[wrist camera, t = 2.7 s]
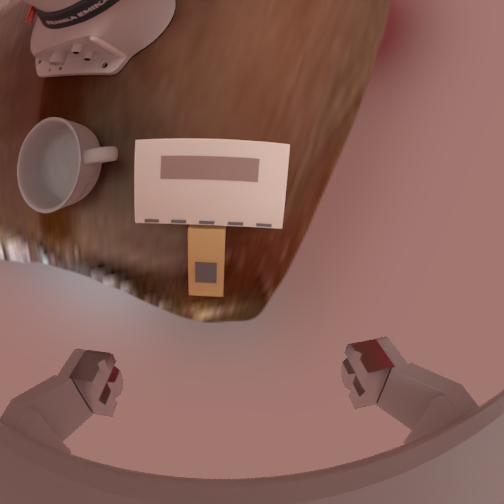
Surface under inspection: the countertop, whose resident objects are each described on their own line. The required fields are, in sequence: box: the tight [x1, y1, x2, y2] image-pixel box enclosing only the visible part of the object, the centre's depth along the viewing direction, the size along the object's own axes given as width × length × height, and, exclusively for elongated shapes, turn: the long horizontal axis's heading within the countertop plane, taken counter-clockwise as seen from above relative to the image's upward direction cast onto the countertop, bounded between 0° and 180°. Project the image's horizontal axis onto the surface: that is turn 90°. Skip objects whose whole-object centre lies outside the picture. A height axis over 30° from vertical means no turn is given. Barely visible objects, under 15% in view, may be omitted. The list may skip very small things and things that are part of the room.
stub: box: [188, 224, 226, 297], centre depth 32 cm, size 4×8×5 cm, turn 176°
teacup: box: [17, 117, 118, 213], centre depth 25 cm, size 14×11×8 cm
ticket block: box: [134, 138, 290, 229], centre depth 29 cm, size 16×9×5 cm, turn 86°
